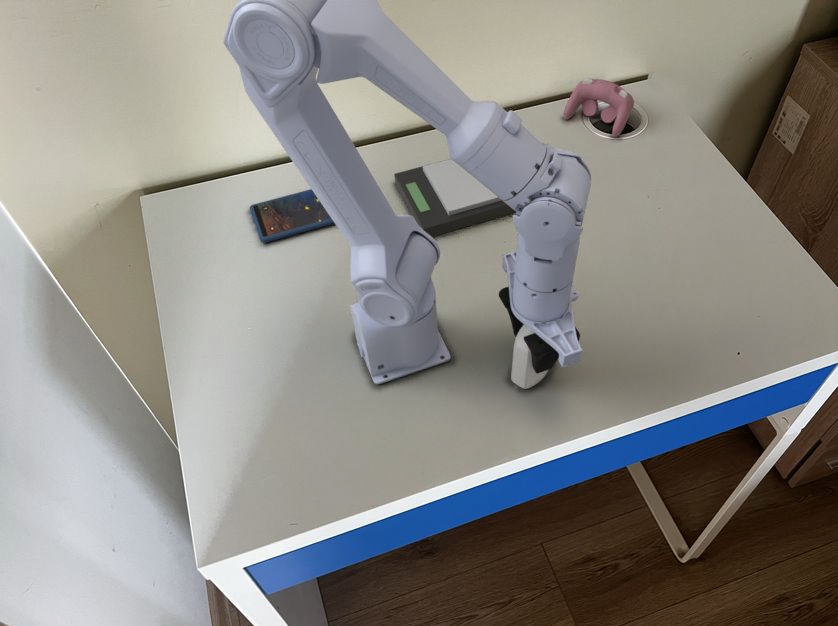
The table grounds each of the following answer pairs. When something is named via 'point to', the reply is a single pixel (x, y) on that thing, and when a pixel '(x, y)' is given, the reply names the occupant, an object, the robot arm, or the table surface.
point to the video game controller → (604, 92)
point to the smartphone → (289, 215)
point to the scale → (447, 198)
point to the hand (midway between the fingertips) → (533, 352)
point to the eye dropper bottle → (524, 362)
